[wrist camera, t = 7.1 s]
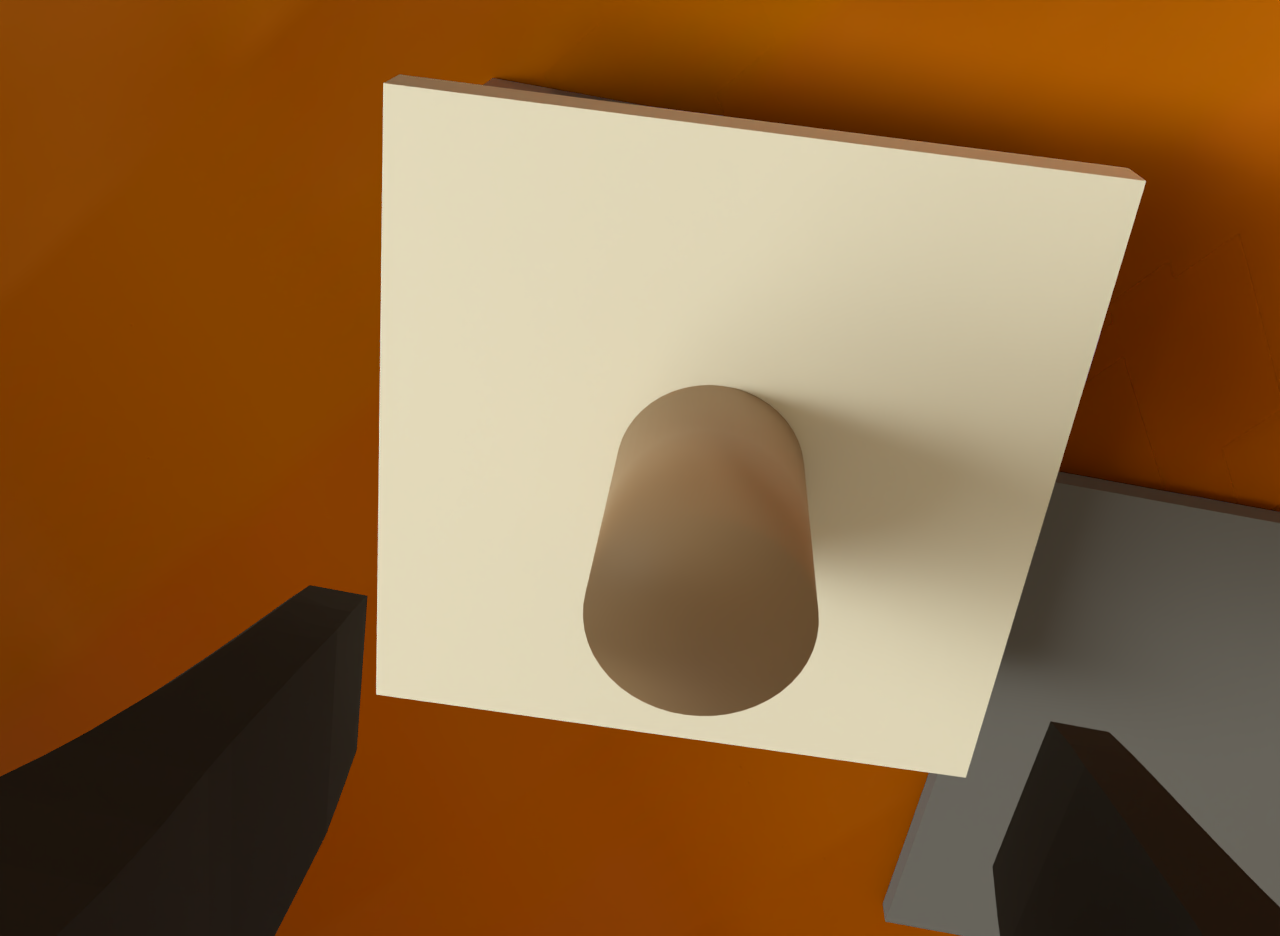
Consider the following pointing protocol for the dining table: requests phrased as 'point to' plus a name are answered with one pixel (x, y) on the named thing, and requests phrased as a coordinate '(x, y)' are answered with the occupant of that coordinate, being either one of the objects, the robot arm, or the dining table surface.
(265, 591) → the dining table surface
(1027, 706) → the mat
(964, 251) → the lid
